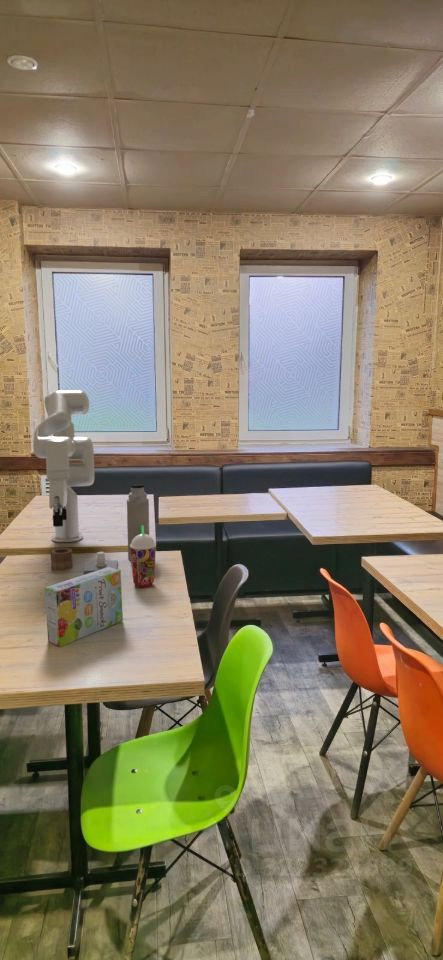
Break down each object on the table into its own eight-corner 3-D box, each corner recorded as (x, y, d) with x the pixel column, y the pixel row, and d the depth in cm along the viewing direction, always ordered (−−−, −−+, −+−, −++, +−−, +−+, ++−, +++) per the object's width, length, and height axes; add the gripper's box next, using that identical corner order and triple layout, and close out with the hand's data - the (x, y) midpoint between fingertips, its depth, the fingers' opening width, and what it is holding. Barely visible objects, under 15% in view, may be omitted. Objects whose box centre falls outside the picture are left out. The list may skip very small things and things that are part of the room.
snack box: (110, 616, 172) (108, 565, 169) (123, 621, 168) (122, 570, 166) (46, 641, 156) (43, 586, 153) (59, 648, 152) (57, 591, 149)
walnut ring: (53, 564, 218) (52, 548, 217) (73, 563, 219) (72, 547, 218) (50, 570, 211) (49, 554, 210) (70, 569, 212) (70, 553, 211)
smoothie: (152, 590, 192) (151, 529, 188) (127, 588, 194) (125, 528, 190) (159, 582, 200) (159, 523, 197) (135, 580, 202) (134, 522, 198)
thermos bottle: (131, 554, 230) (129, 482, 225) (151, 555, 229) (150, 482, 225) (125, 560, 222) (123, 486, 217) (147, 561, 222) (145, 486, 217)
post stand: (86, 565, 217) (86, 548, 216) (117, 564, 219) (117, 548, 218) (83, 575, 207) (83, 558, 206) (116, 573, 208) (115, 557, 207)
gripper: (50, 471, 217) (53, 517, 220) (42, 479, 200) (45, 529, 203) (72, 471, 218) (74, 517, 221) (65, 478, 201) (67, 528, 204)
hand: (60, 523), depth 212 cm, fingers open, 9 cm apart
